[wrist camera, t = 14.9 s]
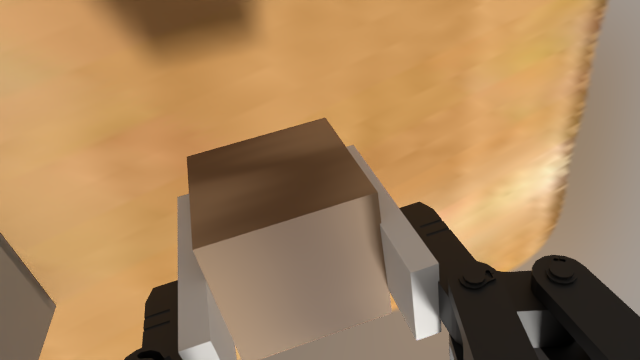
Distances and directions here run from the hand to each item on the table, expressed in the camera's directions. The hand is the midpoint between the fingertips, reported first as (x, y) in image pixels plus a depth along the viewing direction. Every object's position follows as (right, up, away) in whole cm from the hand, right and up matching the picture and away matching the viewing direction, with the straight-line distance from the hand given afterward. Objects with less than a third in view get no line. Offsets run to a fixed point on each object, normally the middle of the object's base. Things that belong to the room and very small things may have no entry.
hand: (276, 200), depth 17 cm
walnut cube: (0, 0, 0) cm, 1 cm away
